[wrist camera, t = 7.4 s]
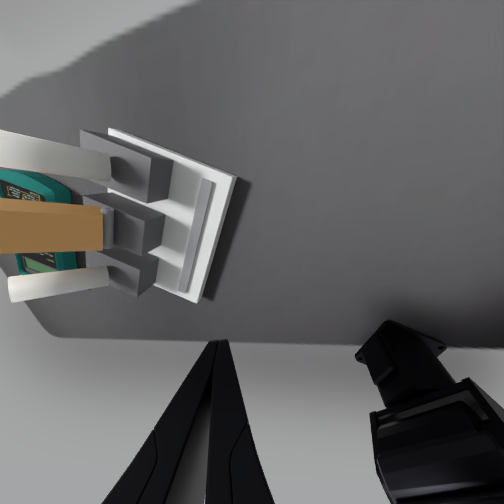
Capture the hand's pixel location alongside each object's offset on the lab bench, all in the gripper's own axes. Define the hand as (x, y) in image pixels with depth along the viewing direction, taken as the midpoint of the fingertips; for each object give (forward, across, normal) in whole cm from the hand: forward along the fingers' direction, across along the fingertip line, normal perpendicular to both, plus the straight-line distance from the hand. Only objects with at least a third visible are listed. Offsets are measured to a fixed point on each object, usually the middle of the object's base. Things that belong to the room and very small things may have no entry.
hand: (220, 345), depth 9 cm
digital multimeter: (+19, +24, 0) cm, 31 cm away
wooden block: (+10, +11, -2) cm, 15 cm away
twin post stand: (+15, +8, -1) cm, 17 cm away
